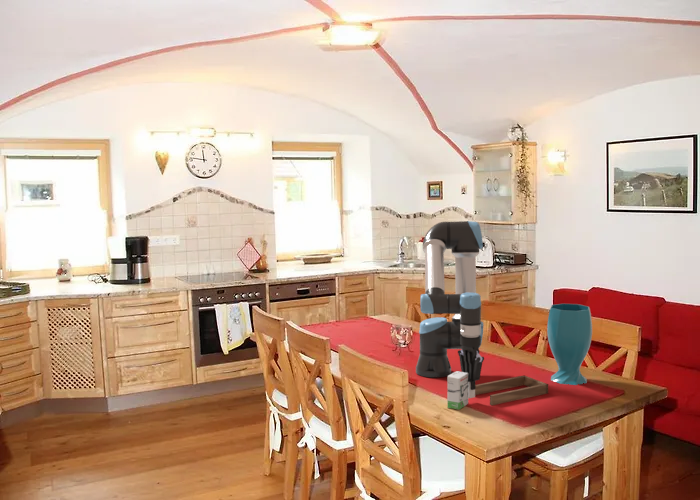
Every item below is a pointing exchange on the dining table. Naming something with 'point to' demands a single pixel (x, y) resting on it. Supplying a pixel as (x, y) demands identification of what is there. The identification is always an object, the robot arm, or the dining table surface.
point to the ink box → (457, 390)
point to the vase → (569, 340)
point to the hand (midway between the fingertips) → (470, 397)
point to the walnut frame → (532, 390)
